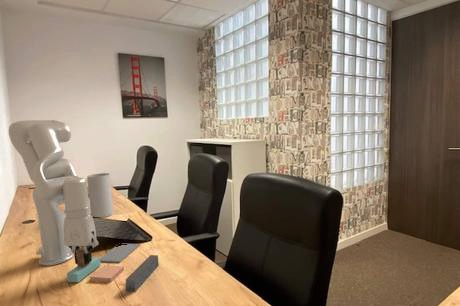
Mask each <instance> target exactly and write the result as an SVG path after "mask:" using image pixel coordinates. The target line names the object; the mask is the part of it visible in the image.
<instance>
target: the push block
mask: <svg viewBox="0 0 460 306" xmlns="http://www.w3.org/2000/svg"><path fill="white" fill-rule="evenodd" d="M84 253H85V252H84V247H83V246H80V249H78V250H76V256H77V264H76V265H77V266H76V267H74V268H72V269H71V270H70V271H68V272H67V273H66V278H67V282H68V283H79V282H80V281H82V280H83V279H85V278H86V277H87V276H88V275H90V274H91V273H92V272H93V271H95V270H96V269H98V268H99V267H100V266H101V262H100V258H101V257H98V256H97V257H96V256H95V257H93V256H92V261H91V262H89V263H88V264H84V257H83V254H84Z"/></svg>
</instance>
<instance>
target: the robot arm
mask: <svg viewBox="0 0 460 306" xmlns="http://www.w3.org/2000/svg"><path fill="white" fill-rule="evenodd" d="M71 131H72V130H71V129H70V128H69V126H68V124H66V122H63V121H58V120H53V119H41V120H39V119H38V120H37V119H36V120H32V119H31V120H18V121H15V122H12V123H10V125H9V127H8V136H9V140H10V142H11V144H12V146H13V147H14V149H15V150H16V151H17V153H18V154H19V155H20V156H21V158H22V160H23V163H24V166H25V169H26V172H27V174H28V176H29V179H30V180H31V182H32V183H33V185H34V189H33V191H32V192H31V193H32V199H33V203H34V206H35V210H36V215H37V219H38V225H39V234H40V241H41V247H38V250H37V251H36V252H35V254H36V255H40V258H39V259H38V264H39V265H40V266H44V267H45V266H47V267H48V266H54V265H58V264H59V265H60V264H62V263H64V262H65V263H66V262H68V261H69V260H72V259H73V257H74V263H75V264H74V265H77V256H76V250H78V249H80V248H81V247H84V252H85V253H84V254H83V257H84V264H88V263H89V262H91V261H92V257H93V255H92V251H93V249H94V248H96V247H97V246H99V244H100V243H99V241H98V240H97V230H96V226H95V221H94V218H93V217H92V215H91V209H90V199H89V190H88V180H86V179H87V178H84V177H79V176H78V174H77V173H76V170H75V169H74V166H73V164H72V162H71V160H69V159H66V158H64V156H65V152H64V150H63V148H62V146H61V143H67V142H69V141H70V140H71V138H72V134H71ZM63 204H64V209H65V210H62V208H60V207H59V205H63Z"/></svg>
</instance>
